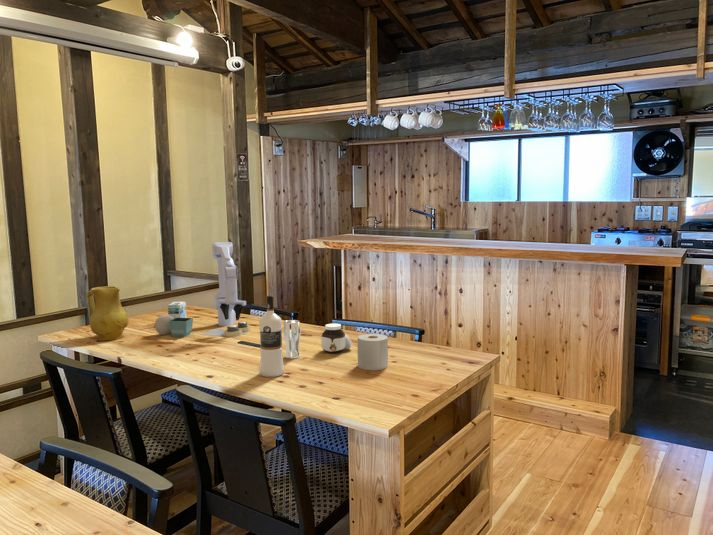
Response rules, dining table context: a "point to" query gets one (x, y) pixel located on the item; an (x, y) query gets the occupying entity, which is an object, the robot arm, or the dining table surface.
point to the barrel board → (242, 330)
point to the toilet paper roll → (372, 351)
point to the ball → (163, 324)
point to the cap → (232, 328)
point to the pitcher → (106, 313)
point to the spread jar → (335, 339)
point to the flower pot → (181, 326)
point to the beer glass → (292, 338)
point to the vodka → (271, 342)
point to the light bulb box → (177, 309)
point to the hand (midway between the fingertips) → (232, 319)
